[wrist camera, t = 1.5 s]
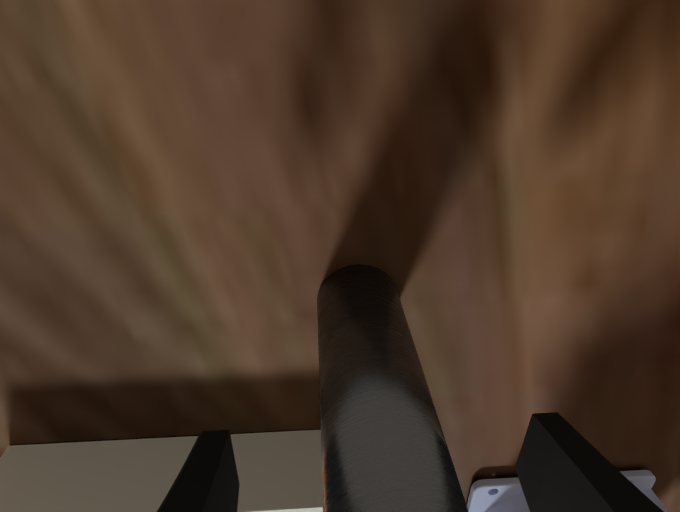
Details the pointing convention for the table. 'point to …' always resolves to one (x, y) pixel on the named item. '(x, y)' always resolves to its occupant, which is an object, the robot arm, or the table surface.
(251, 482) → the hole block
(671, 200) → the table surface
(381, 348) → the peg
